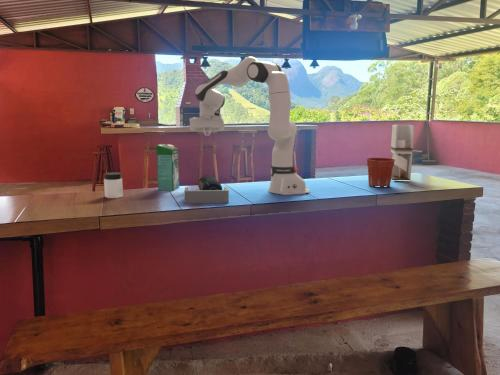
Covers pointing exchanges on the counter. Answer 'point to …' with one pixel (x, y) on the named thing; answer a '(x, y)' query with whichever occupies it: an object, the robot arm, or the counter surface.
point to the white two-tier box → (402, 151)
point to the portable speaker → (209, 183)
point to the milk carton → (167, 167)
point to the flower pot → (380, 171)
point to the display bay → (206, 196)
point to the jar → (113, 185)
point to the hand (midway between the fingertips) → (207, 135)
